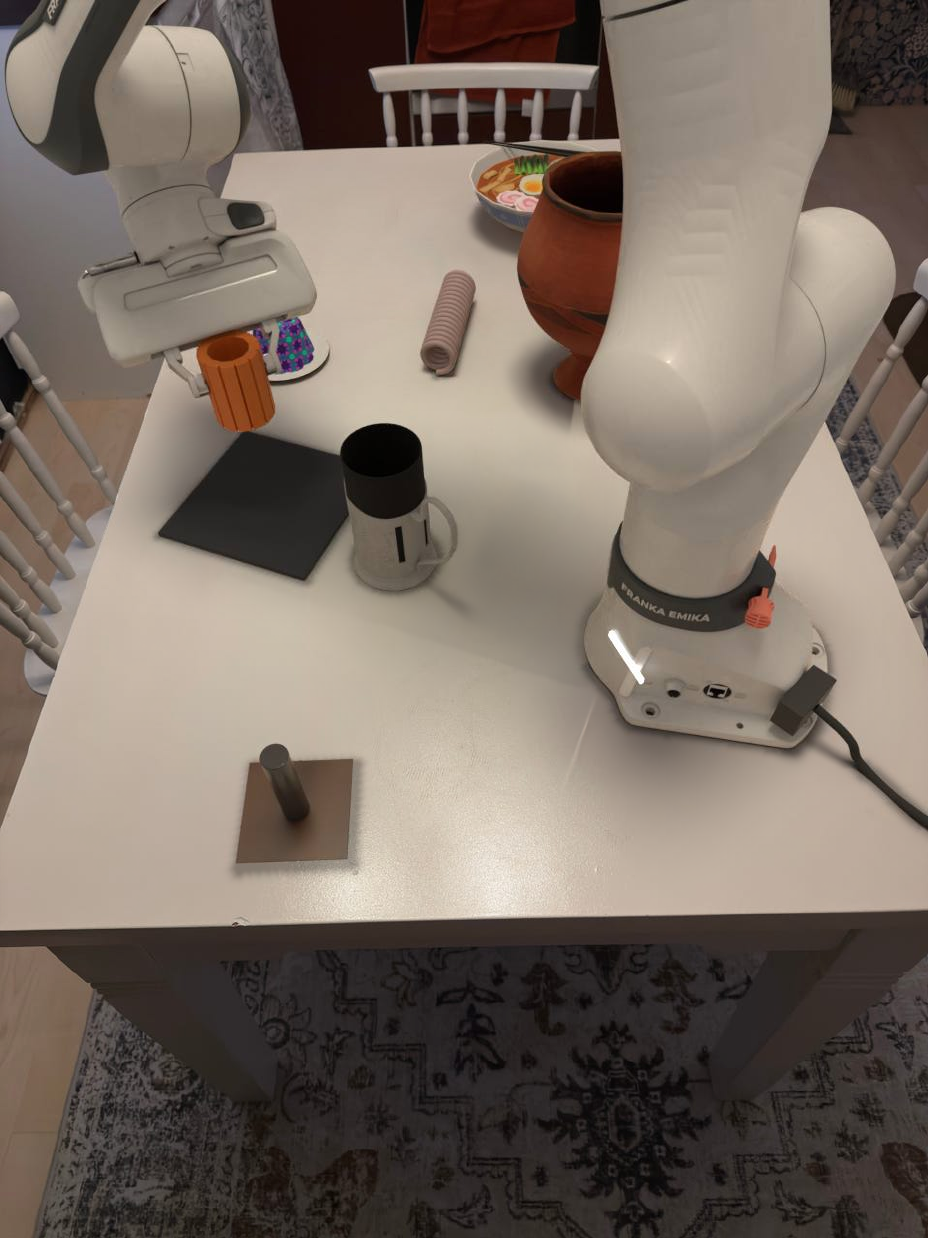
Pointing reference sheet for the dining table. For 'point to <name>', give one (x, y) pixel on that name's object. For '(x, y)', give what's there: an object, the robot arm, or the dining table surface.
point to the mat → (265, 505)
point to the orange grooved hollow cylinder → (236, 380)
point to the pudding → (295, 349)
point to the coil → (448, 322)
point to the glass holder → (390, 507)
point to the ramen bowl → (517, 177)
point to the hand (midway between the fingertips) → (239, 384)
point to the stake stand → (295, 809)
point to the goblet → (574, 257)
